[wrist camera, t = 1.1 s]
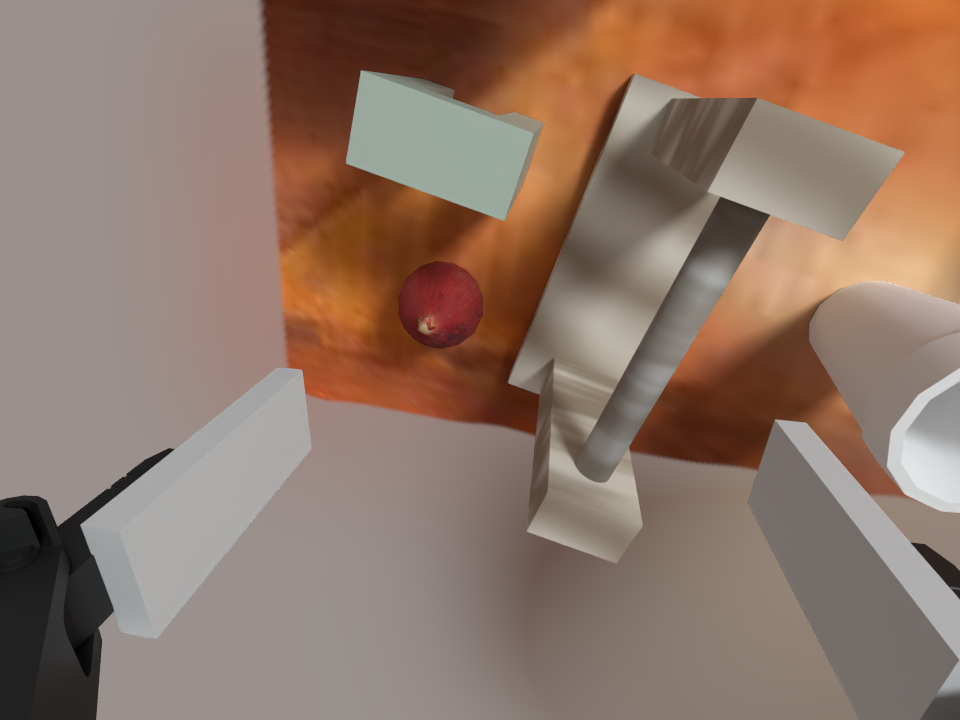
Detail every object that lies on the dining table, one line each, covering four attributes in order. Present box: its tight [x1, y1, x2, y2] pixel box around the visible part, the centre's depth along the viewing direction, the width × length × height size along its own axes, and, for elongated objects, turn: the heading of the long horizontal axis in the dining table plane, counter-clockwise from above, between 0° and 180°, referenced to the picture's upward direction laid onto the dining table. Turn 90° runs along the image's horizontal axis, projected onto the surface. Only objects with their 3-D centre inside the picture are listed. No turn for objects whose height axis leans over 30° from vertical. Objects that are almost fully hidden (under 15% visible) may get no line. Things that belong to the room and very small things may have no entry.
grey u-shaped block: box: [346, 70, 544, 221], centre depth 27 cm, size 4×8×11 cm, turn 72°
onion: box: [399, 261, 483, 348], centre depth 34 cm, size 6×6×8 cm
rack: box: [508, 74, 905, 563], centre depth 28 cm, size 22×10×16 cm, turn 162°
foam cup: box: [809, 281, 960, 513], centre depth 28 cm, size 10×9×13 cm
